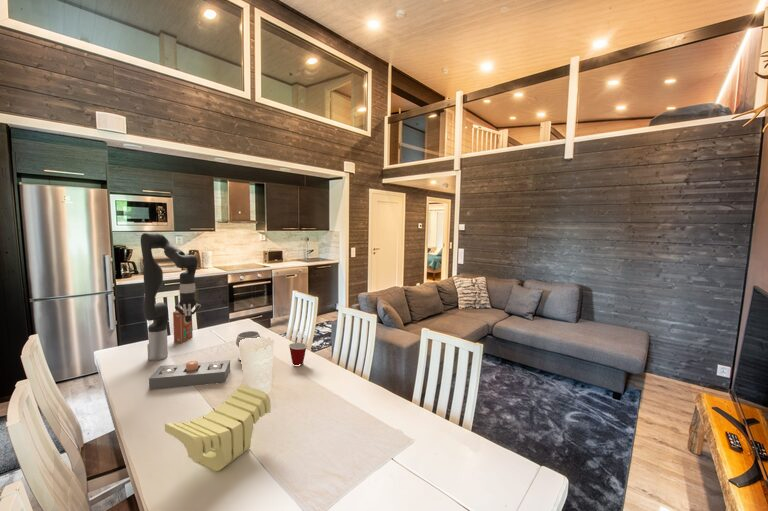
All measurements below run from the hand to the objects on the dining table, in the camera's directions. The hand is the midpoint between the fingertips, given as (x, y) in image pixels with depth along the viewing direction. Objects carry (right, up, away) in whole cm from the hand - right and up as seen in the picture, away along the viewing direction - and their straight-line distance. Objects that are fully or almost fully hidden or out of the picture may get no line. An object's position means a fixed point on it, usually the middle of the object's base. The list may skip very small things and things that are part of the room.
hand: (188, 321), depth 183 cm
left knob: (-2, -27, -13) cm, 30 cm away
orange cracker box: (-31, -22, +46) cm, 59 cm away
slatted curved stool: (+51, -35, -64) cm, 89 cm away
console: (+8, -28, -10) cm, 31 cm away
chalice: (+26, -26, +19) cm, 41 cm away
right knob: (+19, -27, -7) cm, 34 cm away
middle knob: (+8, -24, -11) cm, 28 cm away
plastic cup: (+58, -28, +11) cm, 65 cm away
